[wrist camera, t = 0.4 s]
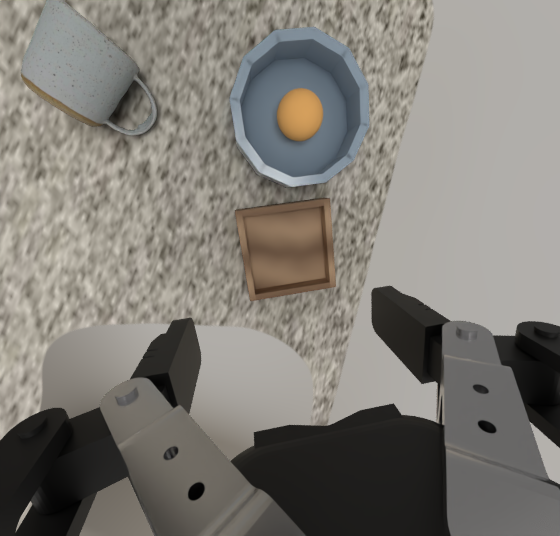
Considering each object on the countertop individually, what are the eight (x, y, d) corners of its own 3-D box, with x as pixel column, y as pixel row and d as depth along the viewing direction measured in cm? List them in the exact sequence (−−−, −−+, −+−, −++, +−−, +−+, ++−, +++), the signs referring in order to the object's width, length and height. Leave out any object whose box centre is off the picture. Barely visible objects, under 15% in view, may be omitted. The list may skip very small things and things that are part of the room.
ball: (271, 99, 32) (276, 82, 27) (314, 95, 32) (327, 77, 27) (277, 147, 33) (283, 139, 28) (318, 142, 34) (330, 133, 29)
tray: (235, 209, 36) (234, 211, 33) (323, 197, 37) (329, 198, 34) (249, 293, 39) (250, 301, 36) (329, 279, 40) (335, 286, 37)
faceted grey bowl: (223, 58, 31) (219, 34, 26) (348, 47, 32) (366, 22, 27) (244, 192, 35) (244, 193, 30) (354, 178, 37) (370, 176, 32)
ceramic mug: (48, 93, 30) (-14, 62, 22) (83, 24, 28) (30, -32, 21) (139, 155, 33) (110, 146, 25) (174, 95, 31) (155, 68, 24)
